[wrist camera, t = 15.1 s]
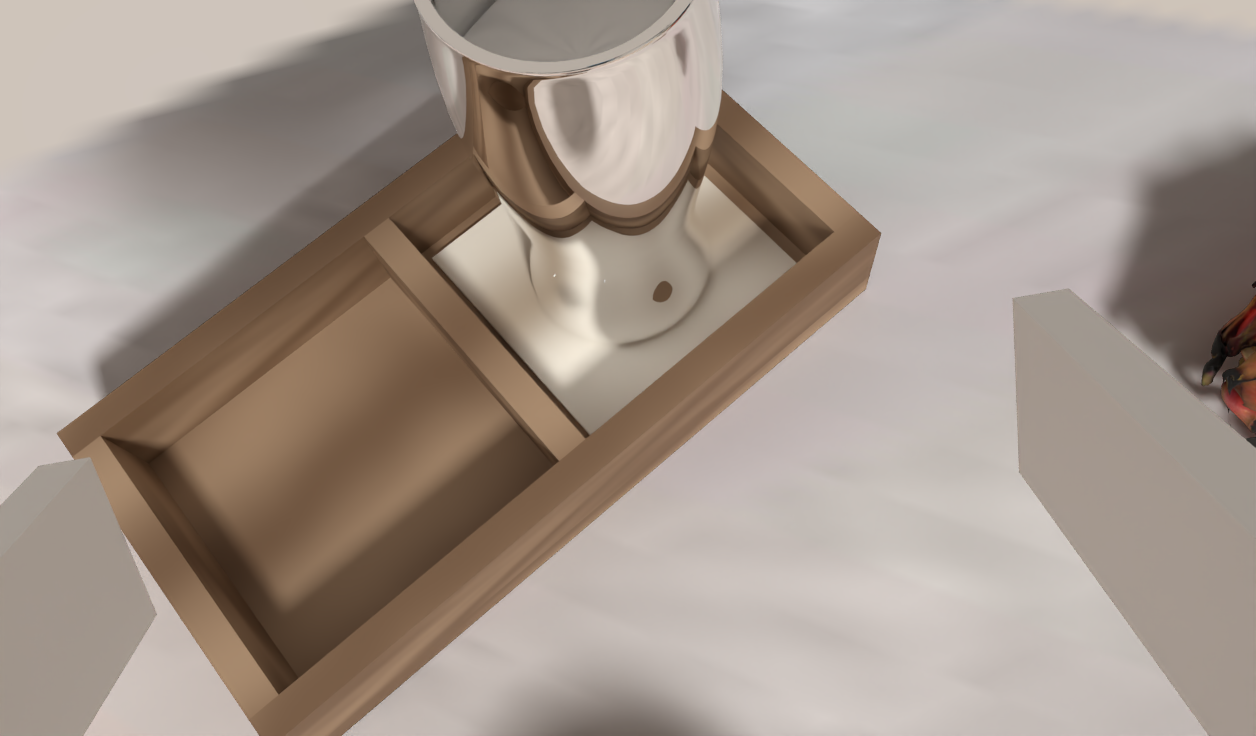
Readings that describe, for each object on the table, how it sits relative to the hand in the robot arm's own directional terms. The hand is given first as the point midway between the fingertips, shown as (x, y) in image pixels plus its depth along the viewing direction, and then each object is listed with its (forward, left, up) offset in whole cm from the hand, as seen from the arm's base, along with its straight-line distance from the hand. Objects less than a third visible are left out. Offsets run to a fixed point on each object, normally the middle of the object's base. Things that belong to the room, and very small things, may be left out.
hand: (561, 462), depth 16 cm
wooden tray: (+10, -2, -20) cm, 22 cm away
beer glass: (+10, -7, -19) cm, 22 cm away
